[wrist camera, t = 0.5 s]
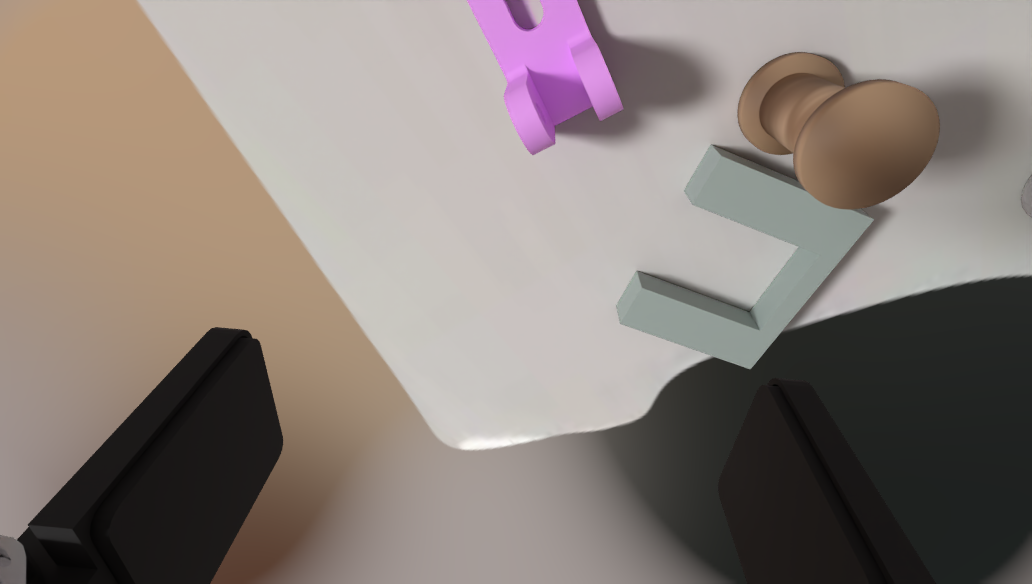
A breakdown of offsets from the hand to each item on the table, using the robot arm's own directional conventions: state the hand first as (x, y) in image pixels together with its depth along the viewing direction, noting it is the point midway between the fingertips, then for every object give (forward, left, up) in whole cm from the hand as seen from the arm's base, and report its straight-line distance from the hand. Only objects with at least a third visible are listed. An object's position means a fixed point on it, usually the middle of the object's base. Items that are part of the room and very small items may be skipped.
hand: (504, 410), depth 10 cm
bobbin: (-5, +15, -28) cm, 32 cm away
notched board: (+6, +17, -28) cm, 33 cm away
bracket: (-4, -2, -28) cm, 29 cm away
